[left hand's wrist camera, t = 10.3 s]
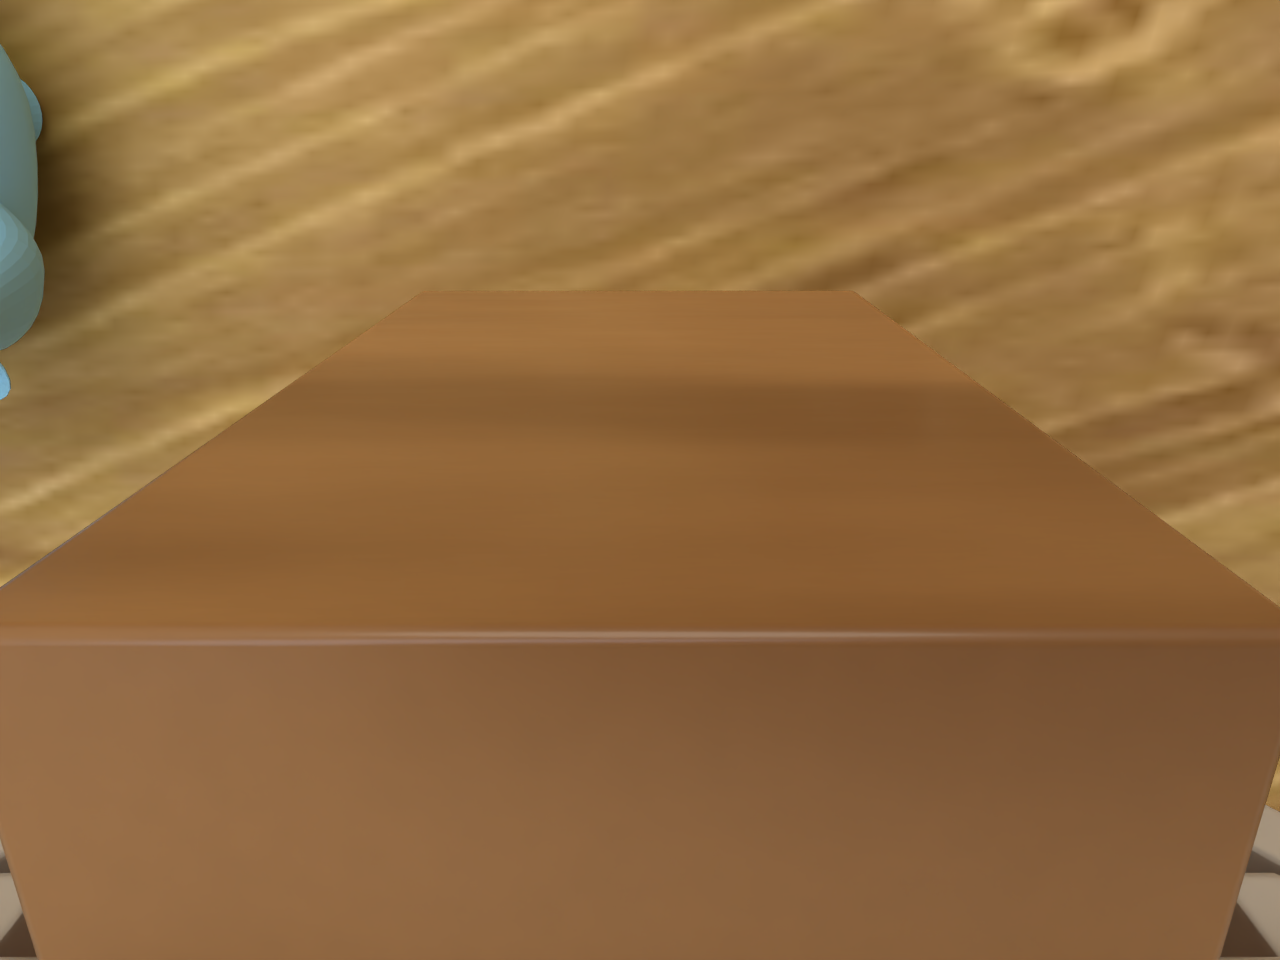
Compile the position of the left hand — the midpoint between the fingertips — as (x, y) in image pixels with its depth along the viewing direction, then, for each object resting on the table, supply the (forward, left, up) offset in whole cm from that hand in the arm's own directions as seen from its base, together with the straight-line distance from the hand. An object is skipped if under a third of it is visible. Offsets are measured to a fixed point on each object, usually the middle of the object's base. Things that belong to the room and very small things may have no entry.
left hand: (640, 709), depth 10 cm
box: (+8, +4, -5) cm, 10 cm away
